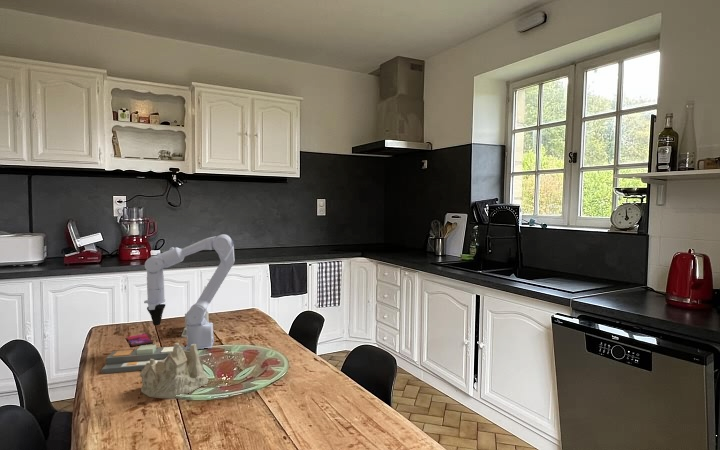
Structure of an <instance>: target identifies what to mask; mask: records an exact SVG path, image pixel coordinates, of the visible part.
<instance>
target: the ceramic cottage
mask: <svg viewBox="0 0 720 450" xmlns="http://www.w3.org/2000/svg"><path fill="white" fill-rule="evenodd" d="M173 346H174V348H173V352H172V353H169V354H168V356H167V357H166V358H165V359H164V360H162V361H158V362H157V363H155V361H154V359H150V363H149V362H148V363H146V365H145V367H144V369H143V370H140V371H141V372H140V374H139V377H141V382H142V386H141V388H140V389H141V390H140V392H141V393H143V394H144V395H145V396H147V397H149V398H155V399H158V398H159V399H175V396H176V395H180V394H184V393H189V392H191V391H193V390H195V389H197V388H199V387H201V386H203V387H204V386H206V385H207V384H209V382H208V381H209V379H208V375H207V373H205V370H204V369H205V368H204V366H203V365H204V364H205V361H203V360H202V358H201V357H200V354H199V351H198V350H199V349H197V345H196V344H191V346H190V350H187V351H186V350H183V348H181V346H182V345H180V343H179V342H175V343H174V345H173ZM205 384H206V385H205ZM201 388H202V387H201ZM199 389H200V388H199ZM197 390H198V389H197ZM195 391H196V390H195ZM189 394H190V393H189Z"/></svg>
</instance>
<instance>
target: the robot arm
mask: <svg viewBox="0 0 720 450" xmlns="http://www.w3.org/2000/svg"><path fill="white" fill-rule="evenodd" d="M234 246H235V245H234V241H233V240H232V238H231V237H230V235H228V234H226V233H225V234H223V233H221V234H218V235H217V236H216V235H215V236H211V237H207V238H204V239H201V240H199V241H197V242H195V243H192V244H191V245H188V246H185V247H183V248H179V247H177V246H175V247H174V246H172V247H170V248H169V250H166V251H164V252H157V253H156V255H154V256H150V257H149V258H147V259H146V261H145V262H144V268H145V270H146V290H147V291H146V293H147V294H146V295H147V296H146V297H147V300H144V301H143V302H144V304H147V305H148V306H146V310H147V312H148V314H149V315H150V318H151V322H152V324H153V326H160V325H161V323H162V318H163V313H164V310H165V308H166V299H165V276H164V269H168V268H170V267H172V266H174V265H177V264H179V263H181V262H183V261H184V259H185V258H186V257H187V256H189V255H192V254H195V253H198V252H200V251H203V250H208V251H212V250H214V251H215V252H216V253H217V254H218V258H219V261H220V263H219V264H218V266H217V268H216V269H215V271H214V273H213V274H212V276H211V278H210V279H209V281H208V283H207V284H206V285H205V286H206V288H205V289H204V288H203V289H204V291H203V290H202V292H203V293H202V292H201V294H200V296H199V297H198V299H197V301H196V302H195V303H194V304H193V305H191V307H190V308H189V310H188V311H187V312H186V313H187V314H186V313H185V314H186V321H187V337H186V346H184V348H187V351H190V346H191V344H196V345H197V350H205V349H204V348H208V349H212V348H213V345H214V341H215V339H214V323H213V322H209V323H208V322H207V320H206V319H205V318H204V317H205V315H206V312H208V307H209V306H210V304H211V302H212V300H213V299H214V297H215V296H216V294H217V293H218V290H219V288H221V285H222V284H223V282H224V281H225V279H226V278H227V275H228V274H229V273H230V271H231V269H232V267H233V265H234V264H235V260H236V259H235V247H234Z"/></svg>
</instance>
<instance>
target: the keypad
mask: <svg viewBox="0 0 720 450" xmlns="http://www.w3.org/2000/svg"><path fill="white" fill-rule="evenodd" d="M180 346H181V348H183V350H186V351H188V350H187V348H185V345H184V344H183V345H180ZM164 347H165V346H160V347H157V346H156V351H155V352H154V354H141V355H137V349H138V348H134V349H132V348H131V349H130V350H133V352H132V353H131V354H130V355H129V356H116V357H112V356H113V355H114V354H115V353H116V352H117V351H124V350H125V349H123V350H121V349H120V350H113V351H112V352H111V353H110V354H109V355H107V357H106V358H105V365H104V366H103V367H102V368H101V374H104V375H105V374H114V373H125V372H139V371H142V370H143V369H144V367H145V365H146V363H148V362H149V363H150V359H154V361H155V363H157V362H158V361H162V360H164V359H165V358H166V357H167V356H168V354H169V353H172V352H167V353H161V351H162V350H163V348H164ZM169 347H174V345H173V346H169Z"/></svg>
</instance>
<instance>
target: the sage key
mask: <svg viewBox="0 0 720 450" xmlns="http://www.w3.org/2000/svg"><path fill="white" fill-rule="evenodd" d="M156 348H157V344H155V343H154V344H148V345H142V346H138V348H136V349H137V355H141V354H154V352H155V351H156Z"/></svg>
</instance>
